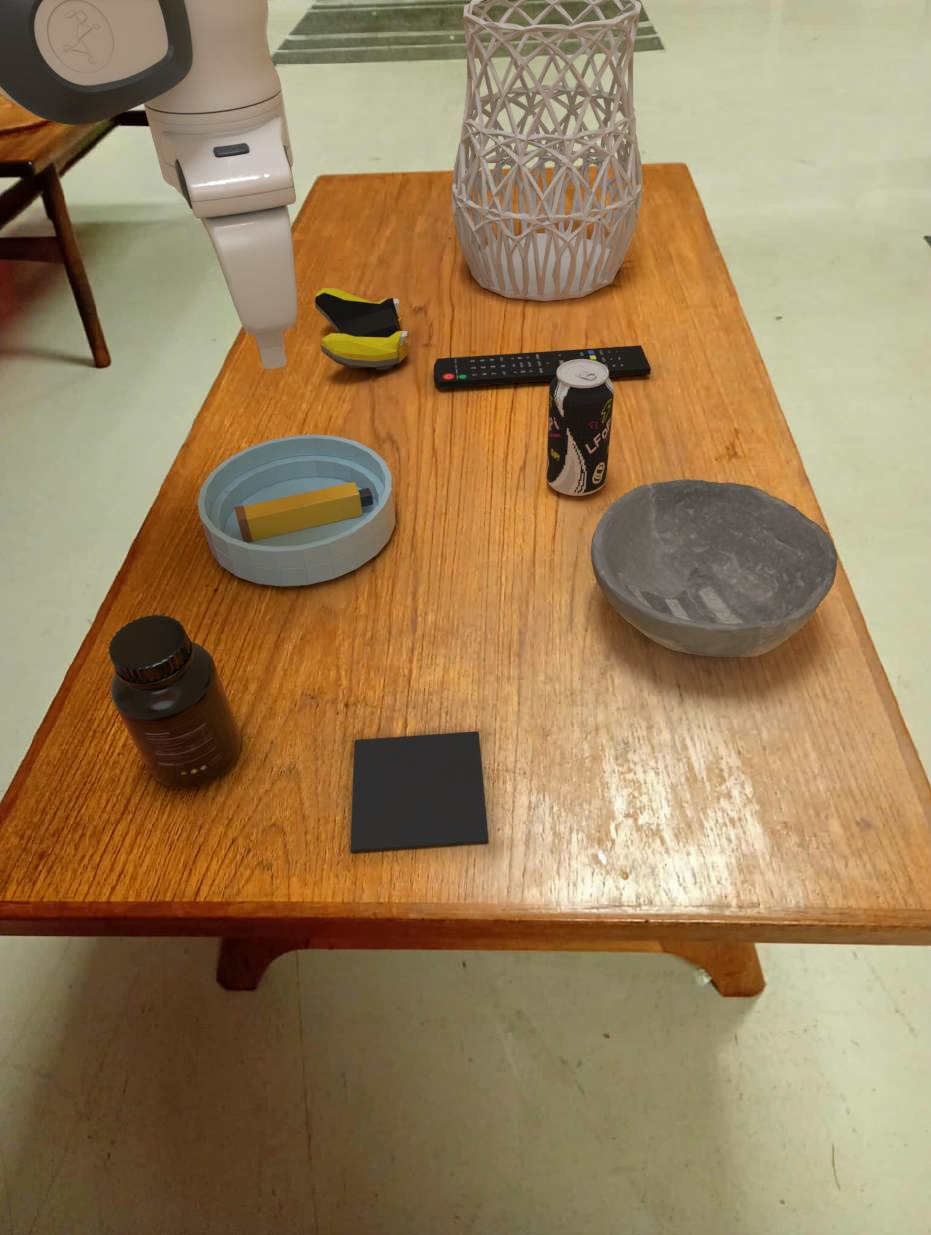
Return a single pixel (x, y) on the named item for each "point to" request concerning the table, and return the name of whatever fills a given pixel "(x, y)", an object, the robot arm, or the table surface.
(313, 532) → the blue bowl
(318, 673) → the table surface
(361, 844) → the mat
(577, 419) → the beverage can
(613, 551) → the bowl
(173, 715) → the supplement bottle
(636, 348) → the remote control
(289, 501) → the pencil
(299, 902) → the table surface
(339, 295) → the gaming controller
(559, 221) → the vase
